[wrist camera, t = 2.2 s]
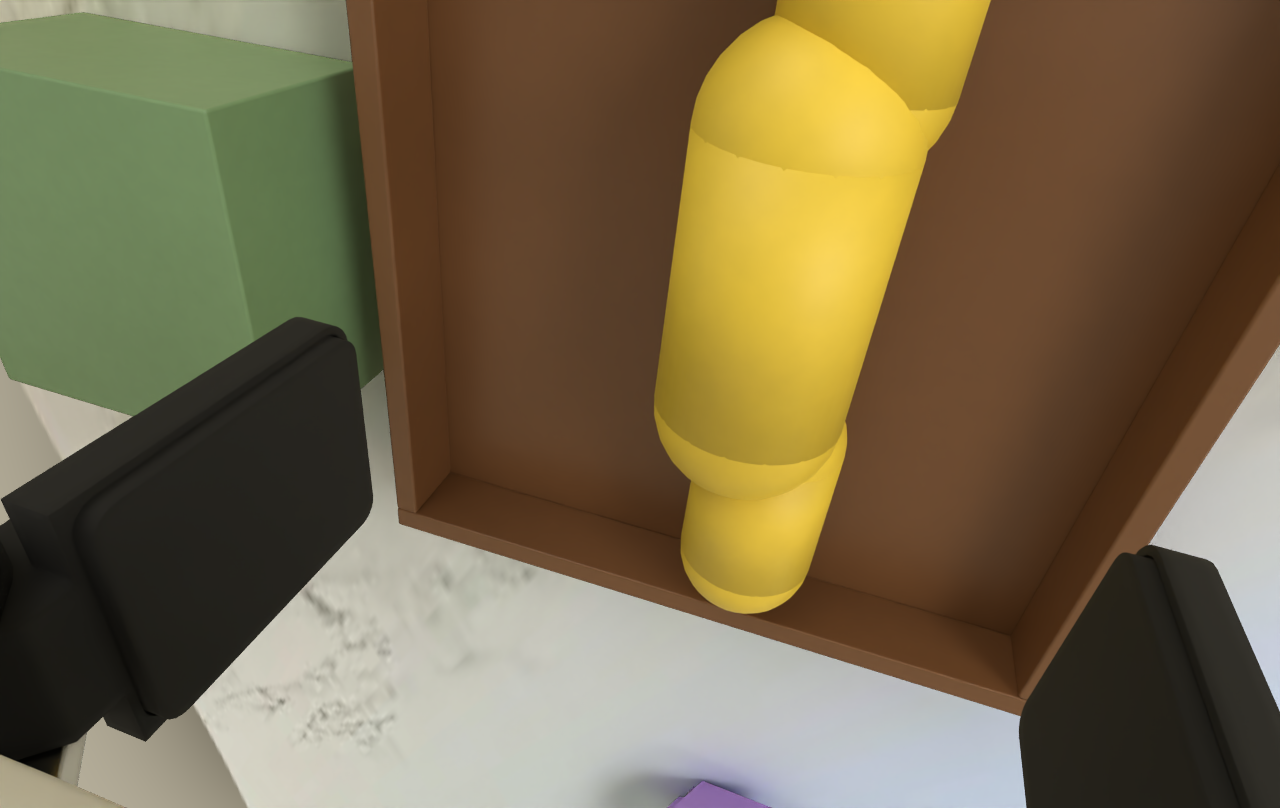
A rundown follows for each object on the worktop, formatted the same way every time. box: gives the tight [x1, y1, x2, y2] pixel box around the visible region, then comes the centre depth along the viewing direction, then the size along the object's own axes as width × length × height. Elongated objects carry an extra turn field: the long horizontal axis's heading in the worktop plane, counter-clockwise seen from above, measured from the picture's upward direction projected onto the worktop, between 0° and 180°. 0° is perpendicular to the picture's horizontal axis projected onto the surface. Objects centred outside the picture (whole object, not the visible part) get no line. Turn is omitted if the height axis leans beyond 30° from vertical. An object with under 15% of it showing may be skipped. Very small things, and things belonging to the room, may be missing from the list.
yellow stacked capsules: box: [654, 0, 991, 614], centre depth 15 cm, size 17×4×4 cm, turn 174°
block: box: [0, 12, 384, 416], centre depth 19 cm, size 8×8×5 cm
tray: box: [346, 0, 1280, 716], centre depth 16 cm, size 19×17×3 cm
